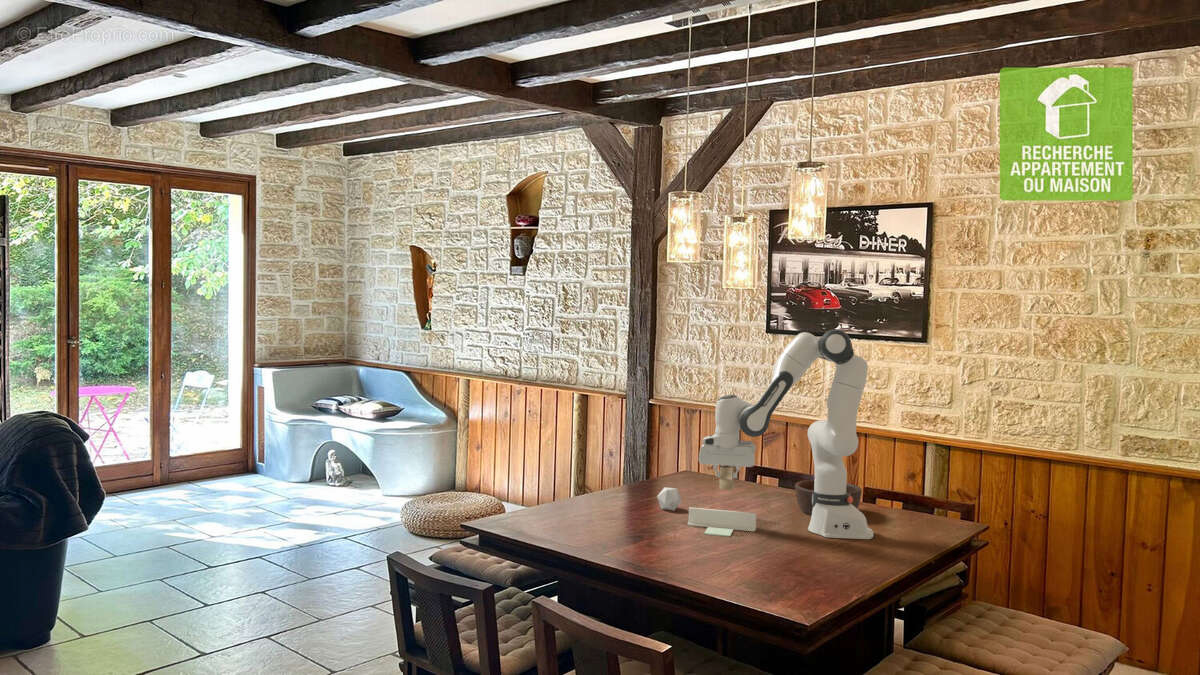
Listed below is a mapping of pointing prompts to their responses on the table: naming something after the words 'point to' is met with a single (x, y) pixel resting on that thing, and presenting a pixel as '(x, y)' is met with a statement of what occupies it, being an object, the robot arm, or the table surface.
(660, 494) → the die
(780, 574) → the table surface
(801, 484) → the wooden bowl
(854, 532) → the robot arm
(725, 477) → the birch block
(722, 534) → the sage mat
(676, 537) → the table surface
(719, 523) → the white shelf
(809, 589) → the table surface
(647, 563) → the table surface
